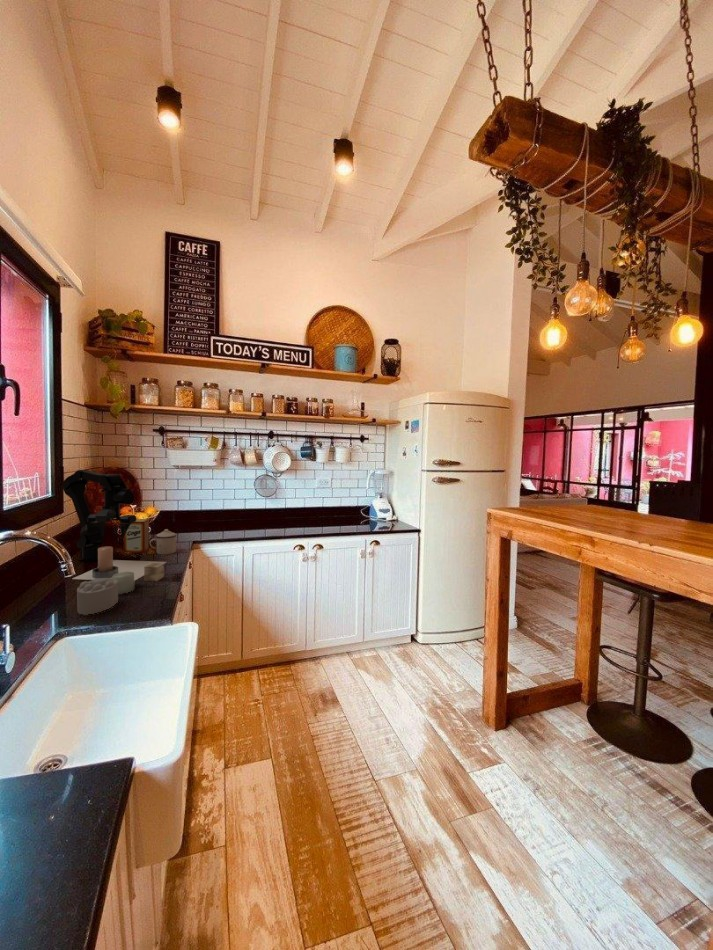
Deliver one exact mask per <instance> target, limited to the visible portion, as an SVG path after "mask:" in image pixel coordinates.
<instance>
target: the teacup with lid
mask: <svg viewBox="0 0 713 950" xmlns="http://www.w3.org/2000/svg"><path fill="white" fill-rule="evenodd" d="M155 535H156V536H155V537H156V538H152V539H151V540H150V539H149V547H150V548H152V549H155V550H156V553H157V554H158V555H171V554H174V553H176V549H177V548H176V544H177V543H176V542H177V540H176V538H177V534H176V533H175V532H172V531H170V530H169V529H168V528H165V529H164V530H163V531H161V532H160V533H157V534H155ZM153 541H156V546H153V545H152V542H153Z"/></svg>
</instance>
